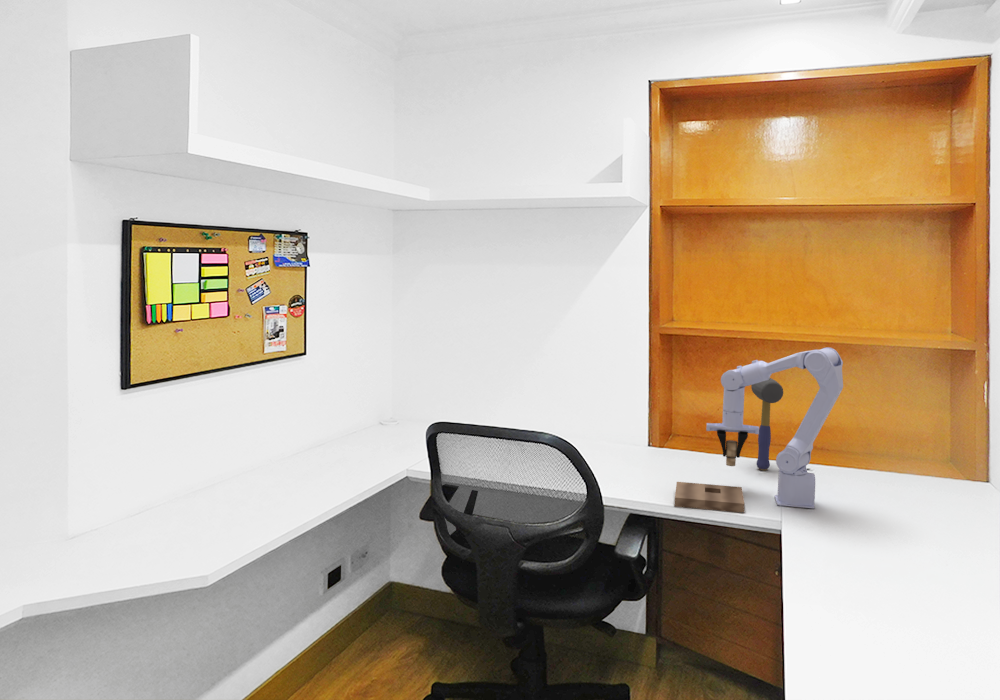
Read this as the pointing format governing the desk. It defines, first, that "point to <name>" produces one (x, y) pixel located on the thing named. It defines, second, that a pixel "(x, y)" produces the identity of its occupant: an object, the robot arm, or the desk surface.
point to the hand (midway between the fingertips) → (731, 456)
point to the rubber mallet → (766, 417)
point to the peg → (731, 452)
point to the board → (709, 497)
